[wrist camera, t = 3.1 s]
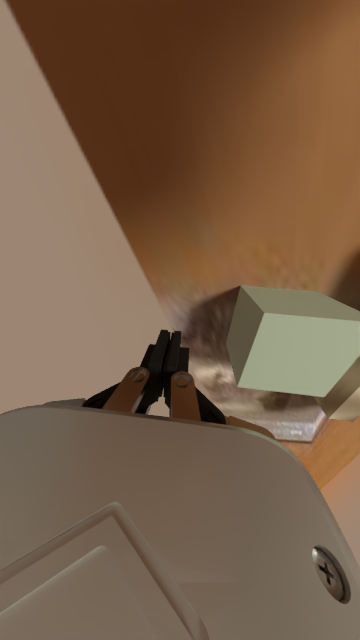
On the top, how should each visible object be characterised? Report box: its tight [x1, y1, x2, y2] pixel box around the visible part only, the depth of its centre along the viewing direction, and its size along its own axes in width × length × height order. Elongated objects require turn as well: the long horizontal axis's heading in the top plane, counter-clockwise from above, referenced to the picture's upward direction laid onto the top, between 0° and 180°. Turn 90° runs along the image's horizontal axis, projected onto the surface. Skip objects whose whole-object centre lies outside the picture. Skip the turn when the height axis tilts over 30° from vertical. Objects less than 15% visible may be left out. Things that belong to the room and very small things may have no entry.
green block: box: [226, 286, 360, 397], centre depth 13 cm, size 7×7×6 cm
